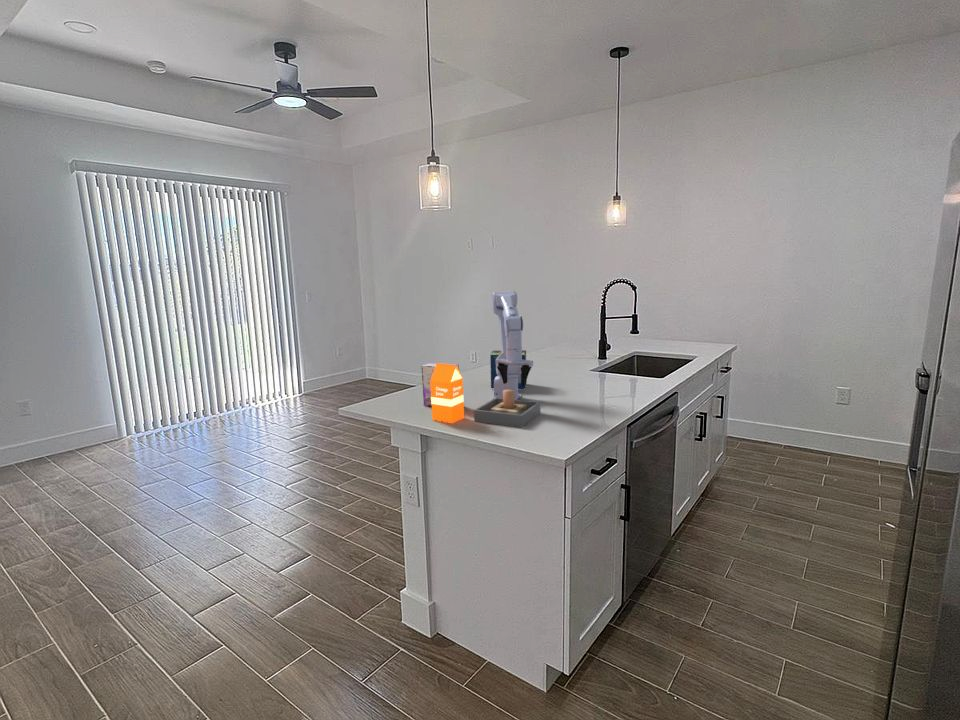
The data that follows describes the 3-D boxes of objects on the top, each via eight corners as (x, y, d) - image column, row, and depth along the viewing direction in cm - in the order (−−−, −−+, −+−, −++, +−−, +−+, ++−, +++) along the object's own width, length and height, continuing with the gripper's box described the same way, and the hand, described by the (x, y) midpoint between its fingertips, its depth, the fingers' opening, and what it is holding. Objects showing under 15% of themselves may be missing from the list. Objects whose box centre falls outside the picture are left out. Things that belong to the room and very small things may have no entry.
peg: (501, 412, 187) (501, 391, 185) (506, 409, 190) (506, 388, 188) (511, 414, 185) (510, 392, 183) (516, 411, 188) (516, 390, 186)
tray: (474, 421, 180) (473, 410, 180) (495, 407, 196) (495, 397, 195) (521, 427, 172) (521, 415, 172) (540, 412, 188) (540, 402, 187)
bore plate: (490, 414, 185) (490, 409, 185) (502, 407, 194) (501, 402, 193) (516, 417, 181) (516, 411, 180) (526, 409, 189) (526, 404, 189)
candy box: (461, 405, 201) (459, 364, 198) (454, 409, 196) (452, 367, 193) (430, 402, 207) (428, 362, 204) (423, 406, 201) (420, 364, 198)
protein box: (493, 383, 235) (492, 350, 232) (526, 383, 233) (526, 350, 230) (490, 389, 225) (489, 354, 222) (525, 389, 223) (525, 354, 220)
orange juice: (452, 423, 178) (449, 367, 175) (431, 420, 183) (429, 365, 179) (464, 417, 185) (462, 363, 181) (444, 414, 190) (442, 361, 186)
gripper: (491, 349, 190) (492, 384, 193) (528, 351, 184) (528, 388, 186) (499, 346, 196) (500, 380, 199) (535, 348, 190) (535, 383, 192)
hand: (514, 384), depth 193 cm, fingers open, 7 cm apart
